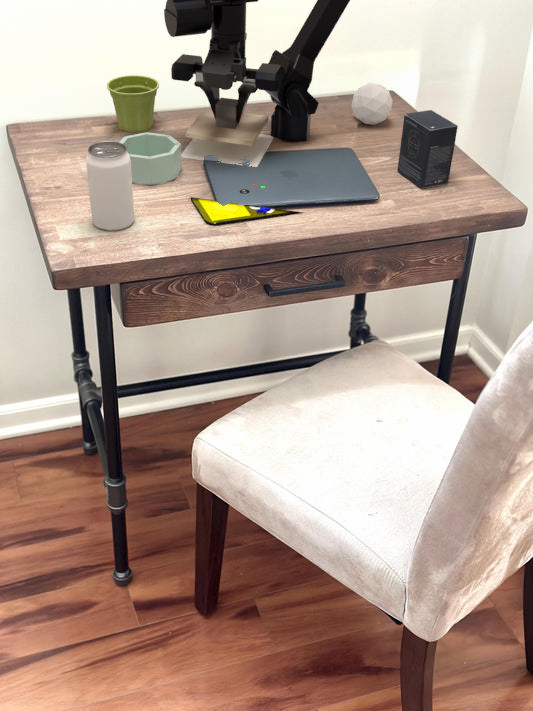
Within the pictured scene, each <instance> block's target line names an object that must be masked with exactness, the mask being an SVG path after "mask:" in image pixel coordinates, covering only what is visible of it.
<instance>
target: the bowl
mask: <svg viewBox="0 0 533 711" xmlns="http://www.w3.org/2000/svg"><path fill="white" fill-rule="evenodd" d="M119 143H122V144H124V145H125V146H126V147H127V152H128V154H129V156H130V161H131V174H132V184H135V185H144V186H148V185H149V186H150V185H151V186H154V185H161V184H165V183H168V182H171V181H172V180H175V179H176V178H177V177H178V176H179V174H180V172H181V171H182V168H183V167H182V158H181V154H182V144H181V143H180V142H179V141H177V139H175V138H174V137H173V136H172V135H170V134H162V133H157V132H156V133H155V132H147V131H144V132H139V133H136V134H131V135H127V136H126V135H125V136H123V137H122V138H121V139H120V141H119Z"/></svg>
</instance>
